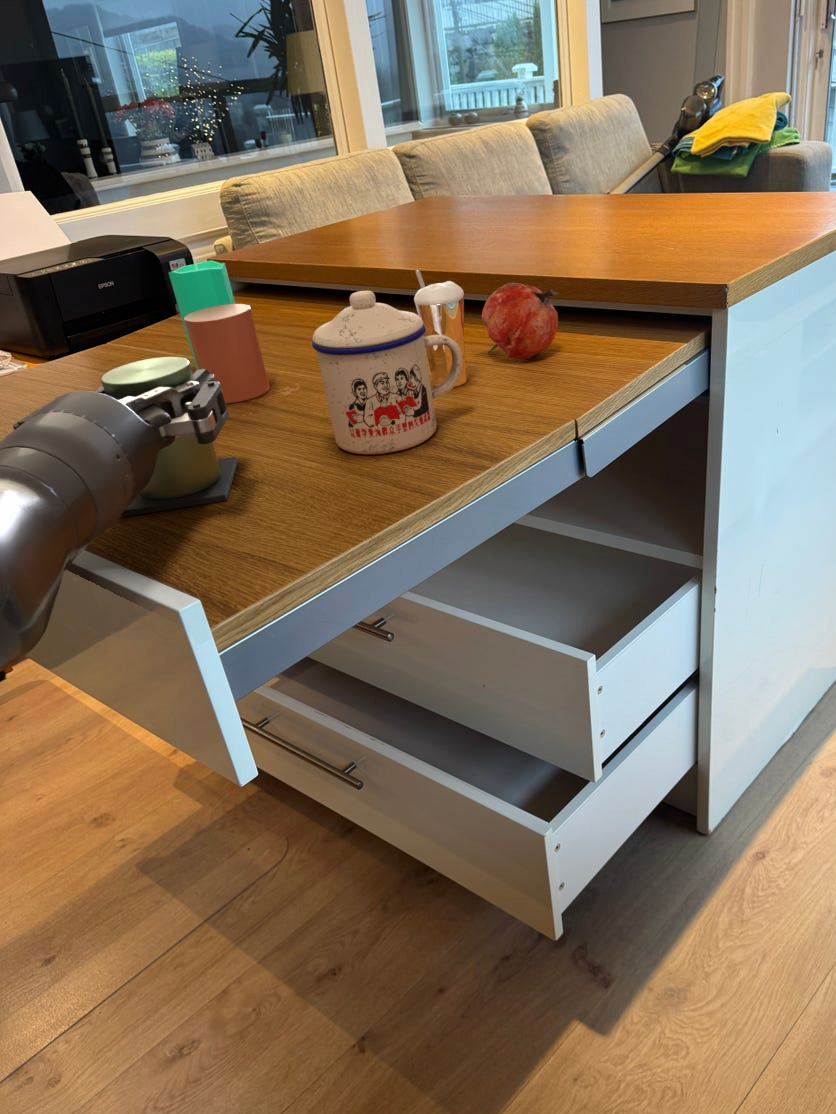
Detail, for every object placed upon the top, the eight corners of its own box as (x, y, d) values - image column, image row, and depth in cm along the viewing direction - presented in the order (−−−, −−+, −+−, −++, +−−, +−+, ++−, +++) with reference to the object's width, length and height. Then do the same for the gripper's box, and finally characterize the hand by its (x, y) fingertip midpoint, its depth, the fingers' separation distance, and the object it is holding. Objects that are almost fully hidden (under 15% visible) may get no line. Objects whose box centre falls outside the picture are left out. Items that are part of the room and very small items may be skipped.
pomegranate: (483, 389, 91) (544, 332, 83) (447, 325, 90) (505, 263, 83) (528, 374, 95) (590, 320, 88) (494, 314, 95) (553, 255, 88)
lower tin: (203, 407, 89) (179, 325, 84) (211, 388, 94) (189, 309, 90) (267, 398, 89) (246, 315, 84) (272, 379, 94) (252, 300, 90)
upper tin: (132, 505, 68) (91, 389, 63) (148, 473, 73) (111, 364, 69) (216, 492, 68) (181, 375, 63) (226, 461, 74) (194, 351, 69)
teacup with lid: (348, 466, 71) (316, 315, 65) (322, 432, 78) (292, 294, 72) (487, 431, 74) (471, 284, 68) (451, 402, 81) (433, 266, 75)
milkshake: (451, 371, 89) (437, 264, 84) (483, 380, 86) (470, 270, 80) (413, 383, 87) (396, 275, 82) (444, 394, 84) (428, 281, 78)
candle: (212, 376, 98) (179, 259, 91) (187, 368, 102) (153, 256, 95) (259, 360, 101) (230, 247, 94) (233, 353, 105) (204, 244, 98)
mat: (121, 517, 68) (119, 511, 67) (141, 476, 74) (140, 471, 74) (226, 500, 68) (225, 494, 68) (237, 462, 75) (236, 456, 74)
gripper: (163, 402, 52) (241, 326, 66) (-65, 425, 54) (58, 346, 68) (199, 518, 56) (266, 424, 70) (-13, 536, 58) (93, 440, 72)
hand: (163, 386), depth 69 cm, fingers closed on upper tin, 6 cm apart
